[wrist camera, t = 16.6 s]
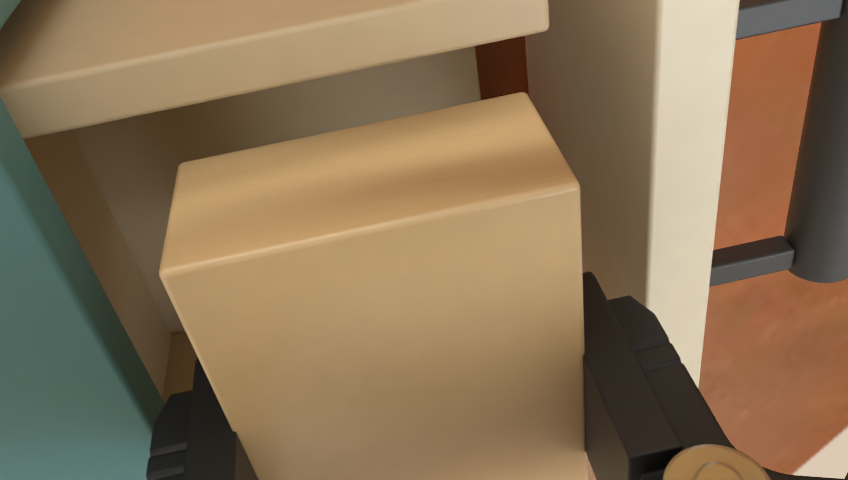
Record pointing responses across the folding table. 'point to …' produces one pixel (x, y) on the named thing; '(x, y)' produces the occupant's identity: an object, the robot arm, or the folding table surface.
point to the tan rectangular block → (391, 297)
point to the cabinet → (61, 342)
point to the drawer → (416, 93)
